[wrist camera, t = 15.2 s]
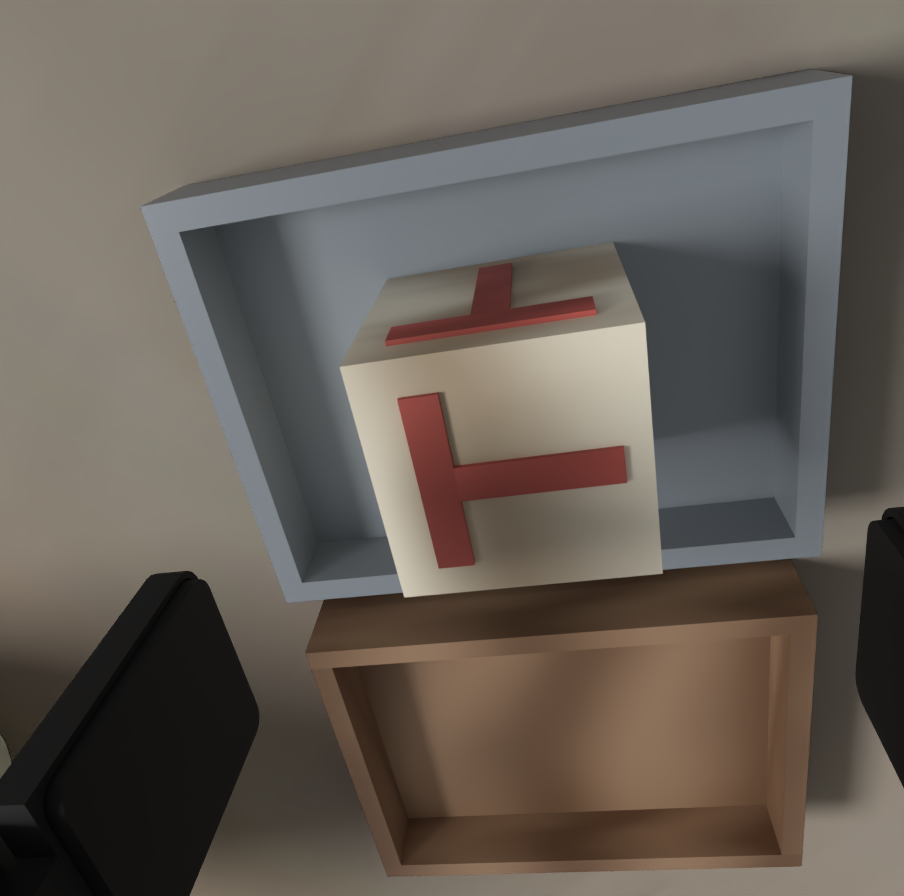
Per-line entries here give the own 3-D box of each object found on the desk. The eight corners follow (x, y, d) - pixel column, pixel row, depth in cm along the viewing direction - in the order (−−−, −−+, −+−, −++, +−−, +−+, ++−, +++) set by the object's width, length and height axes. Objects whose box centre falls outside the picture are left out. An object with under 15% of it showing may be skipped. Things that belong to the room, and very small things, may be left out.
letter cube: (612, 236, 16) (645, 318, 12) (630, 443, 18) (663, 577, 14) (385, 274, 17) (336, 363, 12) (431, 468, 19) (403, 600, 15)
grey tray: (809, 68, 15) (852, 75, 13) (792, 503, 19) (821, 555, 18) (183, 186, 17) (140, 206, 15) (308, 551, 22) (286, 602, 20)
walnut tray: (790, 558, 20) (818, 614, 18) (780, 801, 25) (801, 866, 23) (324, 600, 22) (305, 653, 20) (397, 816, 27) (387, 876, 25)
